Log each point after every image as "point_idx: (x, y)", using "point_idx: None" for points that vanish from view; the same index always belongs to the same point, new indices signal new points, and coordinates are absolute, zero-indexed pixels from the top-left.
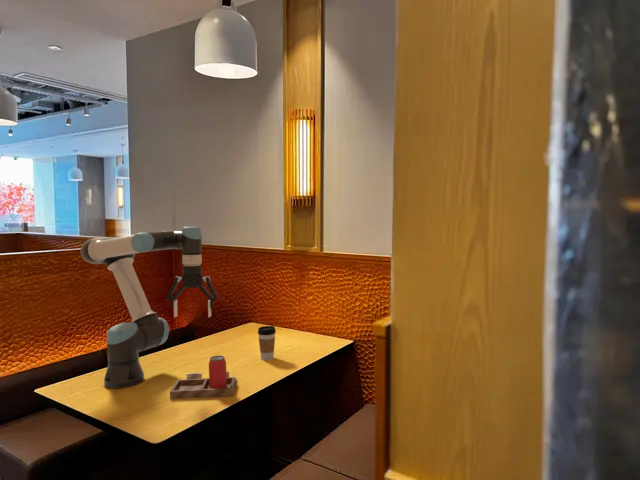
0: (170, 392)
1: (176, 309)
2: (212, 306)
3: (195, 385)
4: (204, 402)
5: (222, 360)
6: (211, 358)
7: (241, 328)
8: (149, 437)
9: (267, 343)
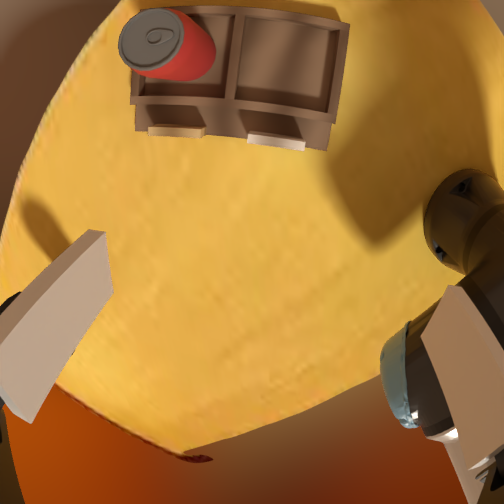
0: (346, 24)
1: (464, 361)
2: (5, 306)
3: (268, 90)
4: None
5: (129, 24)
6: (177, 43)
7: (191, 442)
8: None
9: None
